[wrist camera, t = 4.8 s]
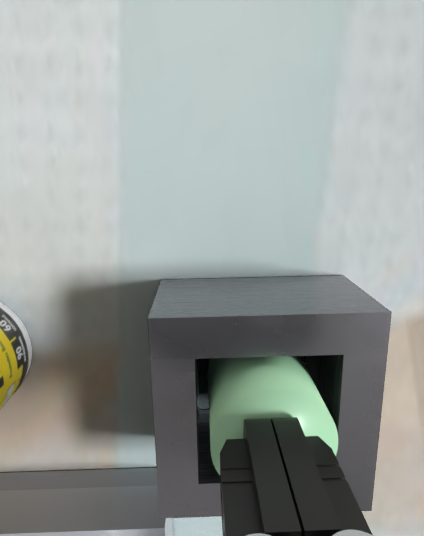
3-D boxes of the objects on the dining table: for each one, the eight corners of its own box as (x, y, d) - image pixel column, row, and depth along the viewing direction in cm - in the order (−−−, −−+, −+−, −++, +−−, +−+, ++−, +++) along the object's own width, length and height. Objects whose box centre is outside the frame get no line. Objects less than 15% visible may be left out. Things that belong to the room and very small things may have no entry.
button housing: (343, 275, 15) (391, 311, 11) (332, 432, 17) (371, 510, 13) (161, 279, 15) (147, 318, 11) (169, 437, 17) (159, 518, 13)
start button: (301, 323, 15) (342, 387, 11) (297, 406, 16) (334, 497, 12) (206, 326, 15) (209, 391, 11) (208, 409, 16) (211, 501, 11)
